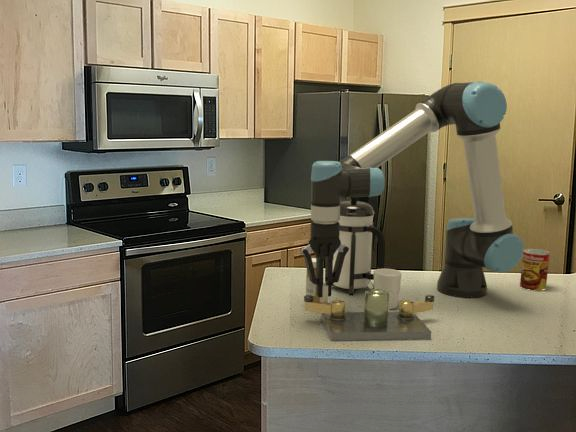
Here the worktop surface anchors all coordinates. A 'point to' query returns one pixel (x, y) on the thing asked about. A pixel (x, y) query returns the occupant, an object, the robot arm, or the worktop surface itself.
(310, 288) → the sprinkles bottle
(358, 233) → the coffee press
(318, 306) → the lever
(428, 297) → the lever
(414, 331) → the base
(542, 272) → the canned food
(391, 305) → the white cup
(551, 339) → the worktop surface
